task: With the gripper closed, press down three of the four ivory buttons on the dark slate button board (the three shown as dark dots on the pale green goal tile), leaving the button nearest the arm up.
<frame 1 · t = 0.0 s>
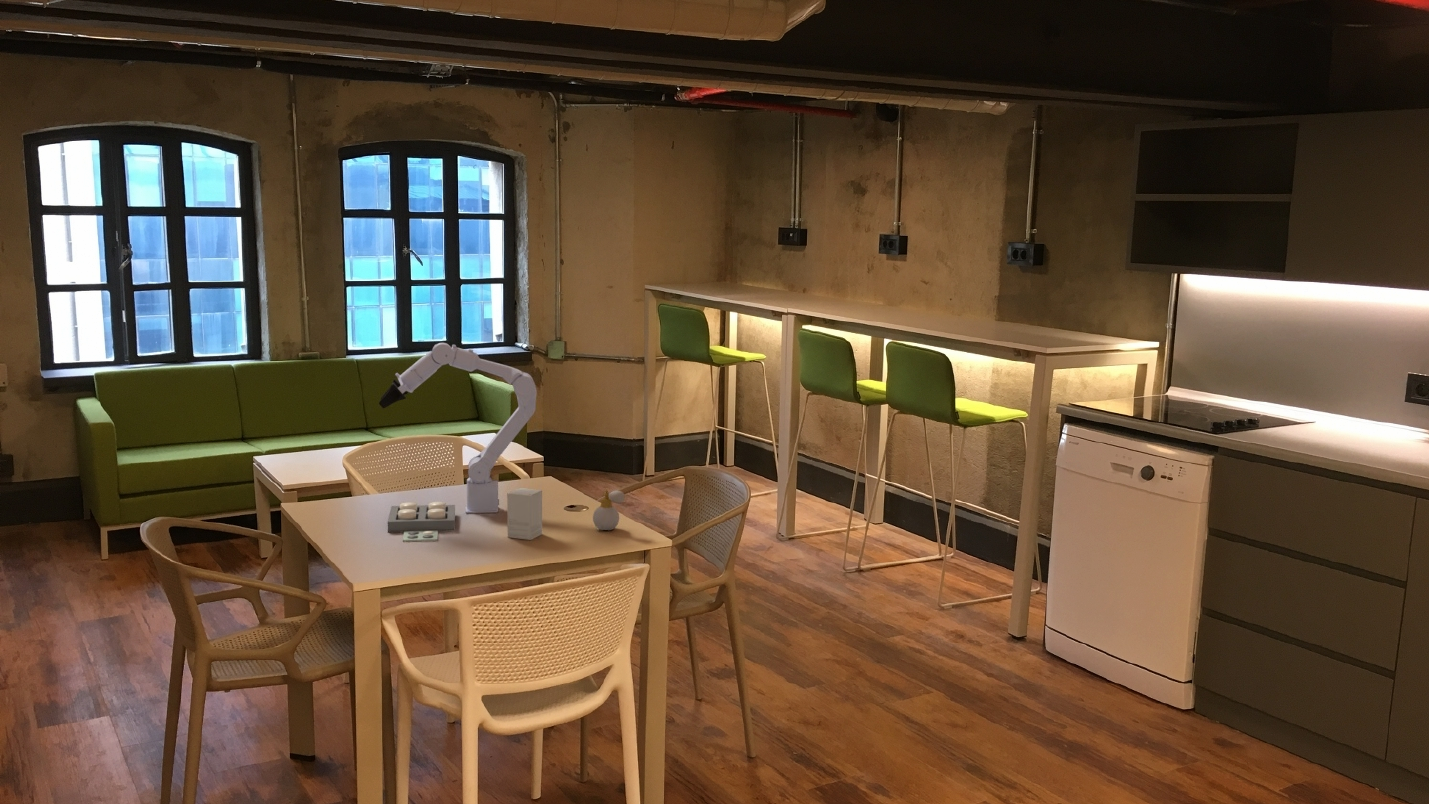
hand: (381, 403, 340), 32 cm above the table, tool tilted 50°, fingers open, 7 cm apart
goal tile: (420, 536, 320), on the table
button B: (436, 515, 330), point 3 cm above the table, slide at 0.0 cm
button board: (422, 523, 334), on the table
button D: (437, 508, 338), point 3 cm above the table, slide at 0.0 cm
supplement box: (524, 536, 324), on the table
button C: (408, 508, 336), point 3 cm above the table, slide at 0.0 cm
button A: (407, 515, 329), point 3 cm above the table, slide at 0.0 cm
perfume bottle: (609, 530, 333), on the table
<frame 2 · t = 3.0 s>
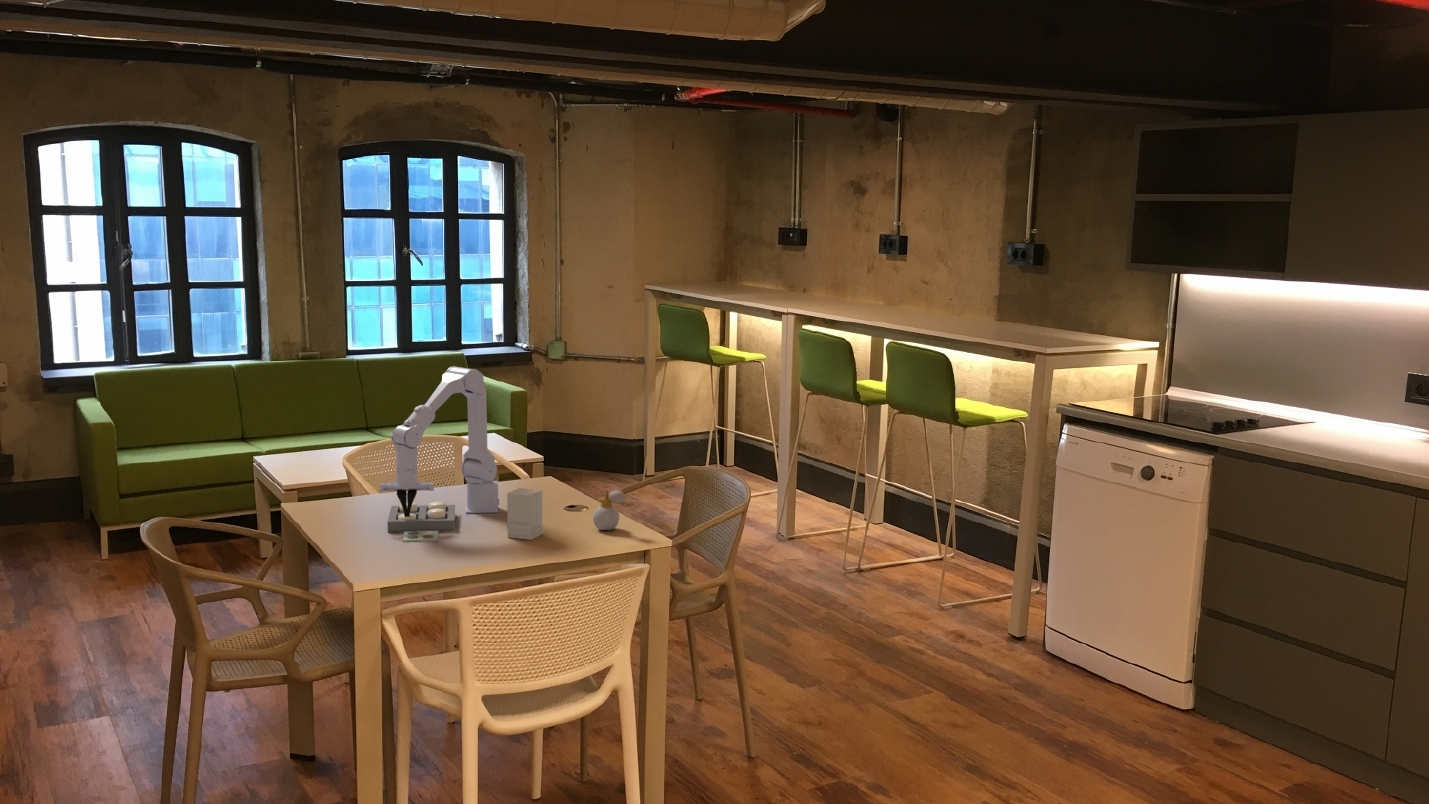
hand: (407, 515, 329), 3 cm above the table, tool pointing down, fingers closed, pressing on button A
button A: (407, 520, 329), point 2 cm above the table, slide at 1.3 cm, touching gripper
everything else where it was.
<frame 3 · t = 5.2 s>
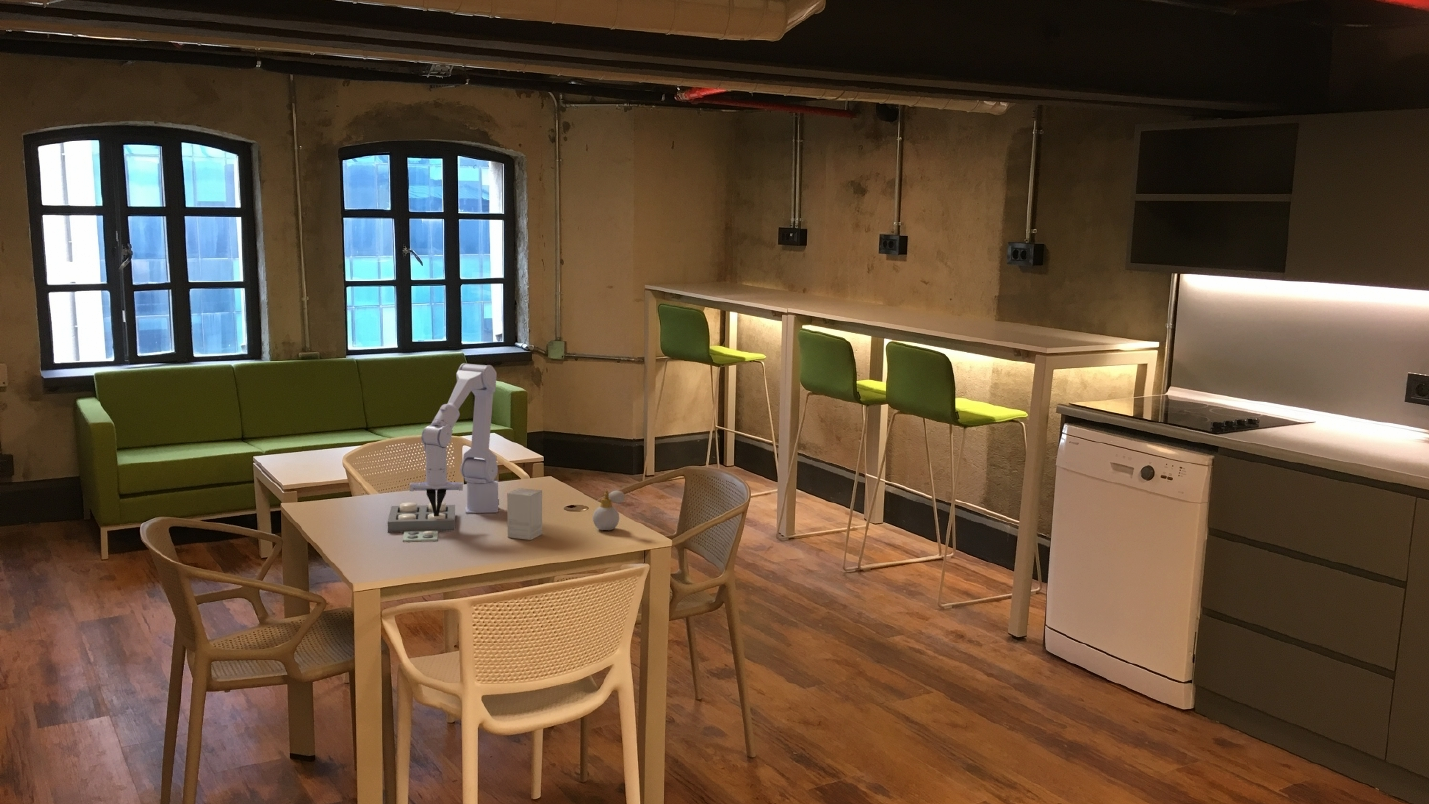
hand: (436, 515, 330), 3 cm above the table, tool pointing down, fingers closed, pressing on button B
button B: (436, 519, 331), point 2 cm above the table, slide at 1.3 cm, touching gripper
button A: (407, 520, 329), point 2 cm above the table, slide at 1.3 cm
everything else where it was.
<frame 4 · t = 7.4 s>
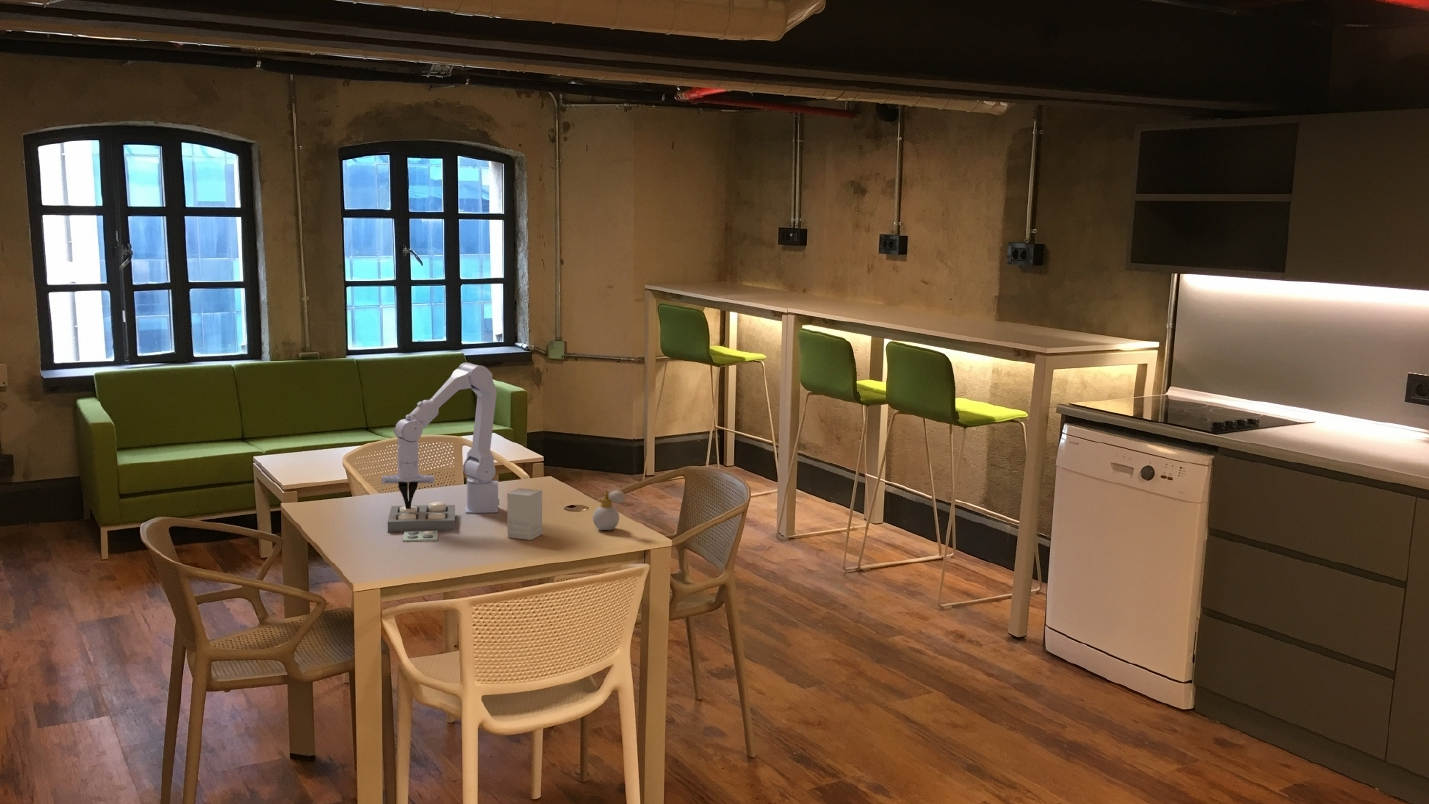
hand: (408, 508, 336), 4 cm above the table, tool pointing down, fingers closed, pressing on button C
button B: (436, 519, 331), point 2 cm above the table, slide at 1.3 cm
button C: (408, 512, 337), point 2 cm above the table, slide at 1.0 cm, touching gripper
everything else where it was.
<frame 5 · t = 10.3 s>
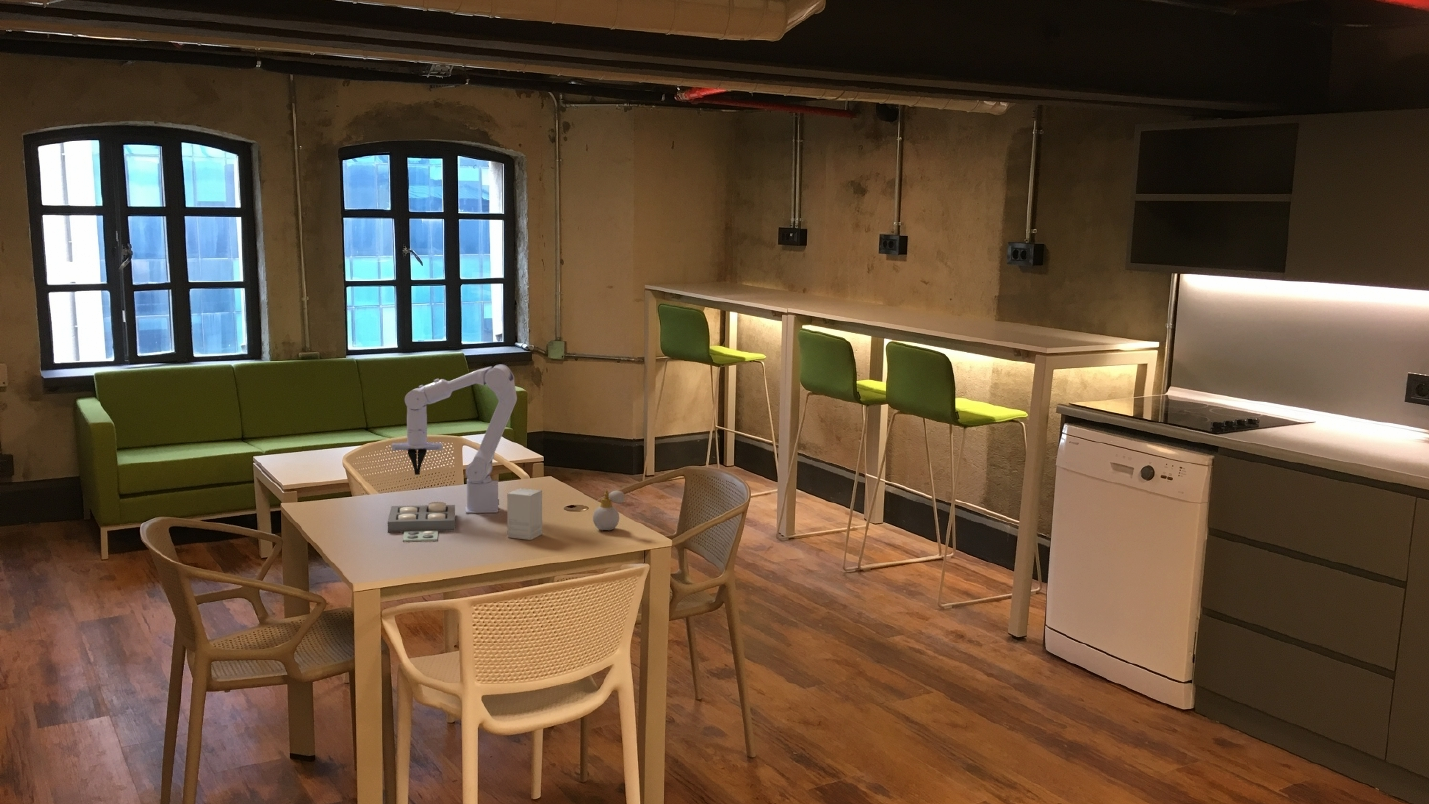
hand: (417, 474, 349), 10 cm above the table, tool pointing down, fingers closed
button C: (408, 513, 337), point 2 cm above the table, slide at 1.3 cm
everything else where it was.
at the end: button A slide at 1.3 cm; button B slide at 1.3 cm; button C slide at 1.3 cm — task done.
